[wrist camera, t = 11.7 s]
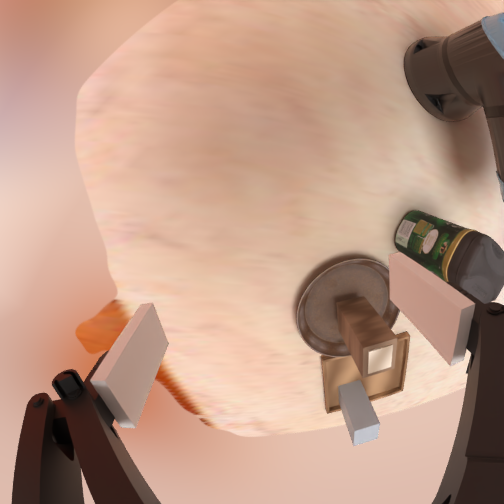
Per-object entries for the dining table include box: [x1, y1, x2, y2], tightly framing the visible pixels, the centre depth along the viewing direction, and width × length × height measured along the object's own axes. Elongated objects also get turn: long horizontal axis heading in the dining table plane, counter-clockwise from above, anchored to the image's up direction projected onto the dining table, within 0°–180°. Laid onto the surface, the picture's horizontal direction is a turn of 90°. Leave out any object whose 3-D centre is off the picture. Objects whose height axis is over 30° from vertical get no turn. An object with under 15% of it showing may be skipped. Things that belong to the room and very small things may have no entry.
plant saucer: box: [297, 259, 400, 357], centre depth 44 cm, size 18×18×3 cm
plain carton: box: [338, 380, 380, 446], centre depth 44 cm, size 4×5×12 cm
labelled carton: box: [336, 296, 397, 378], centre depth 37 cm, size 4×5×12 cm
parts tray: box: [321, 332, 410, 414], centre depth 49 cm, size 17×15×2 cm
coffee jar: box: [395, 211, 504, 304], centre depth 33 cm, size 10×8×19 cm
